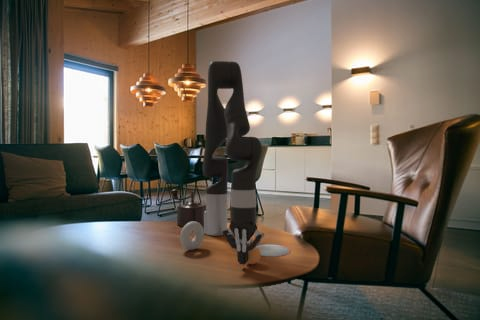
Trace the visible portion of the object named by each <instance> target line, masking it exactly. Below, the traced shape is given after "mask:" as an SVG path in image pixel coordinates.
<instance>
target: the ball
mask: <svg viewBox="0 0 480 320" xmlns="http://www.w3.org/2000/svg"><path fill="white" fill-rule="evenodd" d="M261 257H262V256H261V252H260V250H259V249H258V248H257V247H255V248H254V249H252V250H251V251H248V262H246V264H248V265H256V264H257V263H259V261H260V260H261Z"/></svg>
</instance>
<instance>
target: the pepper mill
mask: <svg viewBox="0 0 480 320" xmlns="http://www.w3.org/2000/svg"><path fill="white" fill-rule="evenodd" d="M194 192H195V191H193V190H191V192H190V195H188V196H186V197H183V198H179V196H178V195H179V189H176V188H174V189H171V190H170V193H169V194H170V195H171V196H172V199H171V200H176V201H185V200H186V201H185V202H186V203H184V204H182V205H179V206H178V205H177V214H176V215H177V217H176V218H177V224H176V225H177V226H179V227H182V228H183V227H184V226H185V225H186V224H187V223H189V222H192V221H195V222H198V223H200V224H201V225H202V227H204V211H206V205H204V204H199V203H198V202H195V201H194ZM190 198H191V199H190ZM189 199H190V201H188V200H189Z"/></svg>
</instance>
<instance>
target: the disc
mask: <svg viewBox="0 0 480 320" xmlns="http://www.w3.org/2000/svg"><path fill="white" fill-rule="evenodd" d="M256 247H257V248H258V249H259V250H260V252H261V257H283V256H287V255H288V254H290V253H291V249H290V248H289V247H287V246H283V245H279V244H267V243H266V244H257V246H256Z"/></svg>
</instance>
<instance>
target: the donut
mask: <svg viewBox="0 0 480 320" xmlns="http://www.w3.org/2000/svg"><path fill="white" fill-rule="evenodd" d="M193 232H194V235H193V236H194V237H193V238H192V239H191V234H192V233H193ZM204 237H205V234H204V226H202V225H201V224H200V223H198V222H195V221H192V222H189V223H187V224H186V225H185V226H184V227H182V229H181V231H180V235H179V241H180V243H181V246H182V247H183V248H184V249H185V250H187V251H194V250H195V249H198V248H199V247H200V246H201V244H202V243H203V241H204V239H205V238H204Z"/></svg>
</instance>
